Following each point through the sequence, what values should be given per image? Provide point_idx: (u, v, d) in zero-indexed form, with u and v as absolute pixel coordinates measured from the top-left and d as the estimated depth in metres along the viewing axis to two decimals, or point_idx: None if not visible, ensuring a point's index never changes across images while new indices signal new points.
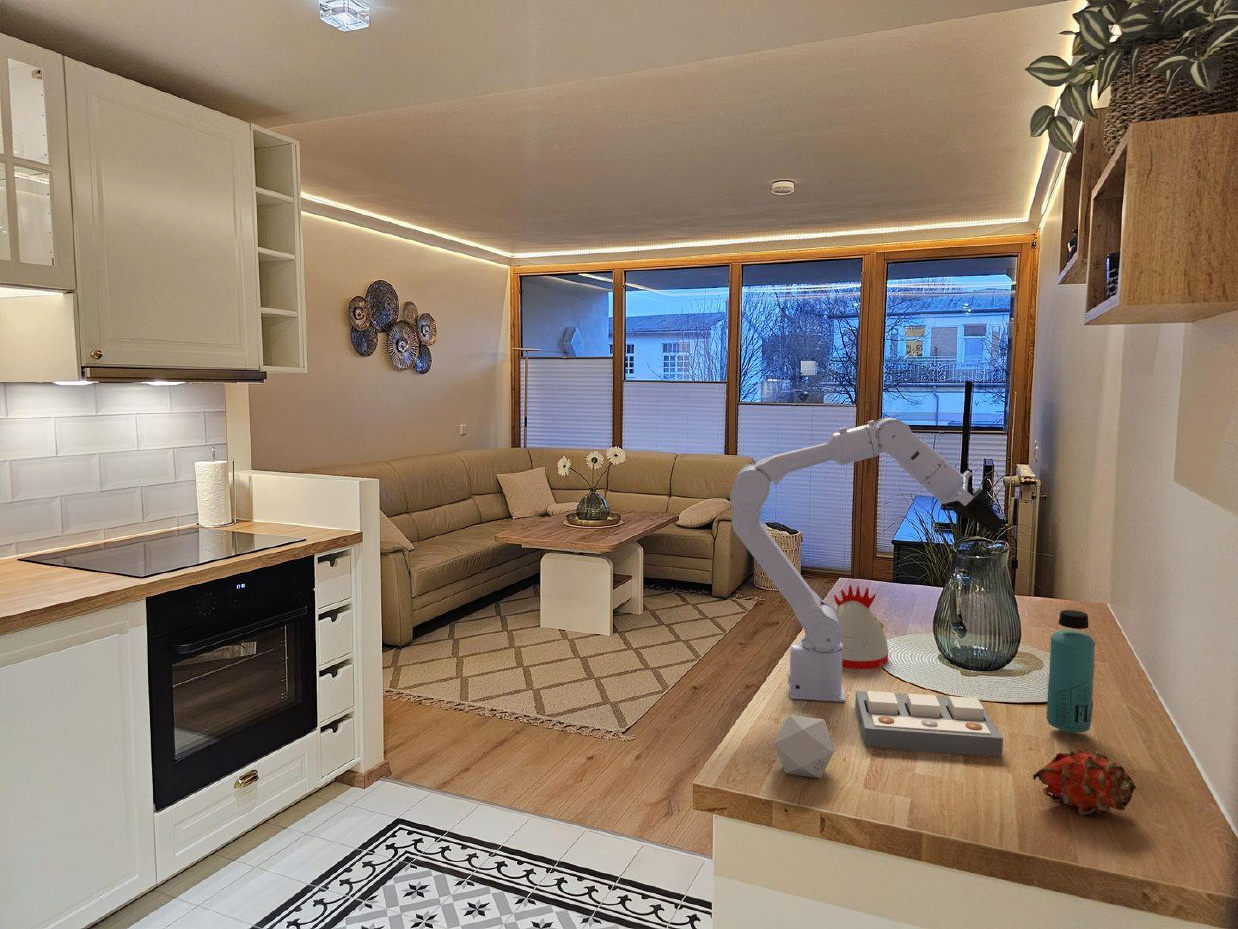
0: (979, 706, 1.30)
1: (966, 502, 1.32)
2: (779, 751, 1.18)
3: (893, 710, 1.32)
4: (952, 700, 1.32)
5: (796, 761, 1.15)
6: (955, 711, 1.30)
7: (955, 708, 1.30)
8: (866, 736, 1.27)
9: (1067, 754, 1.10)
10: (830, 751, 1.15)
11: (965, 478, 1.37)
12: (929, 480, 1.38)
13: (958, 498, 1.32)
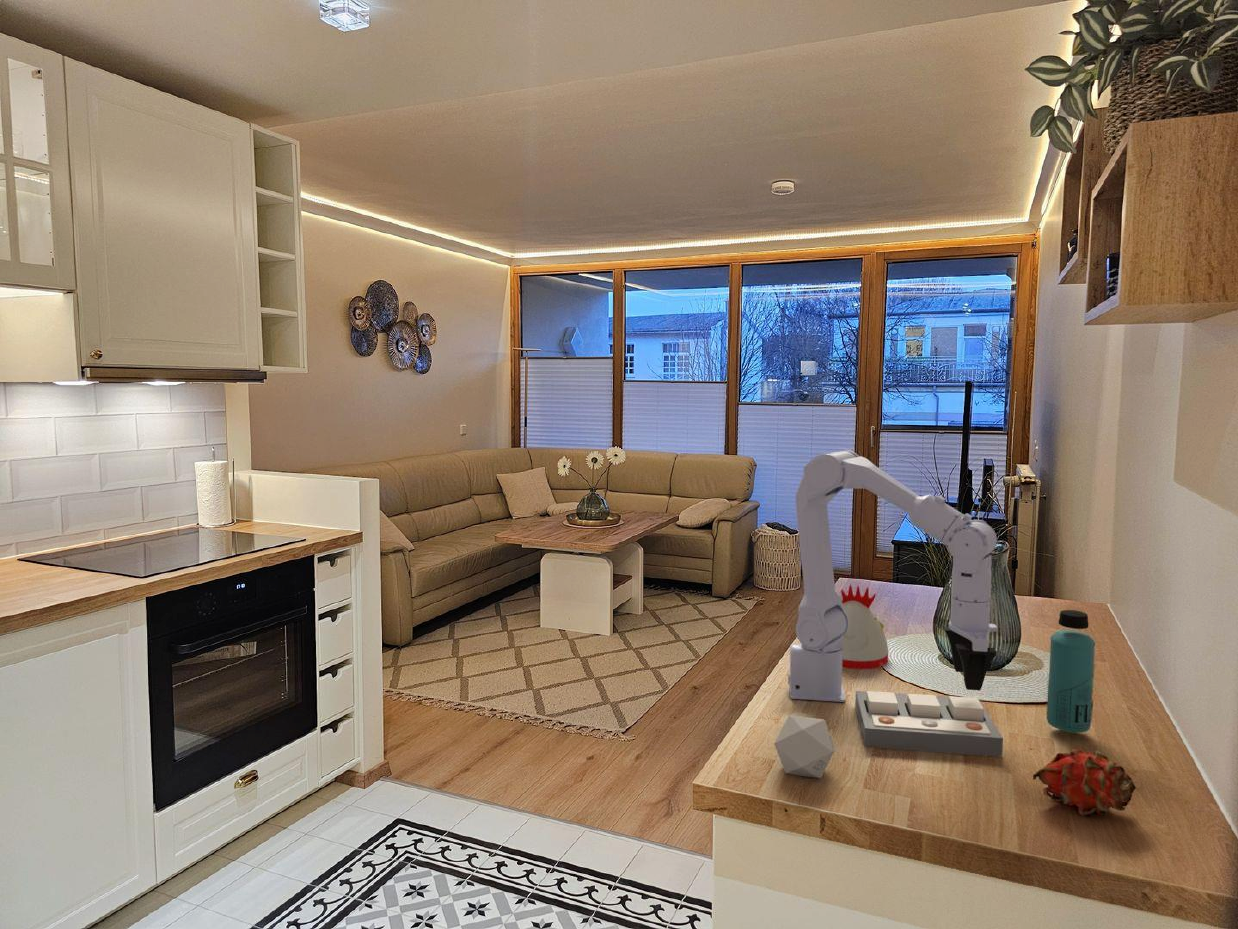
0: (979, 706, 1.30)
1: (977, 649, 1.23)
2: (779, 751, 1.18)
3: (893, 710, 1.32)
4: (952, 700, 1.32)
5: (796, 761, 1.15)
6: (955, 711, 1.30)
7: (955, 708, 1.30)
8: (866, 736, 1.27)
9: (1067, 754, 1.10)
10: (830, 751, 1.15)
11: (989, 629, 1.28)
12: (963, 604, 1.27)
13: (975, 640, 1.23)
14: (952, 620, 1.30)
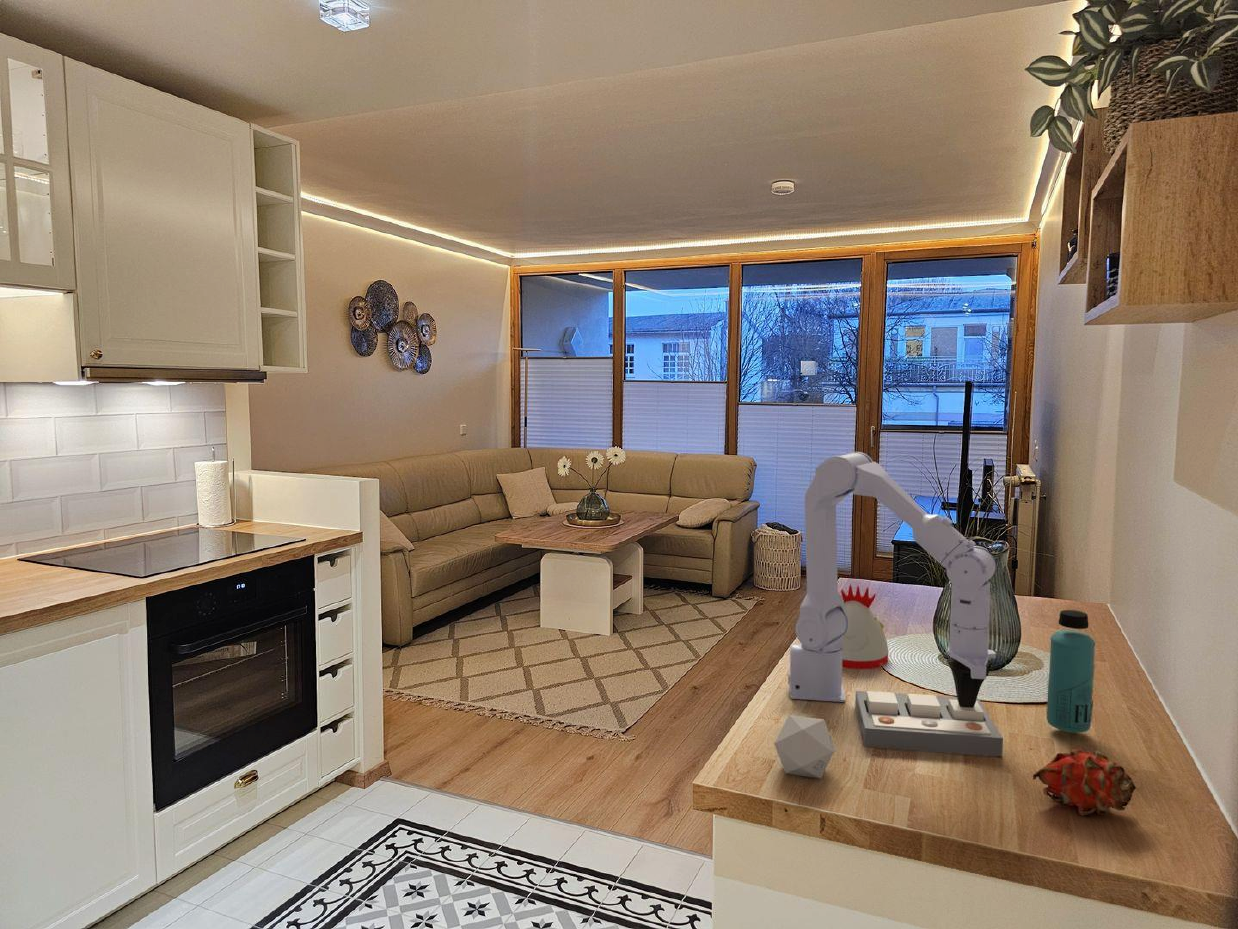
0: (979, 709, 1.30)
1: (976, 677, 1.24)
2: (779, 751, 1.18)
3: (893, 710, 1.32)
4: (952, 703, 1.32)
5: (796, 761, 1.15)
6: (955, 714, 1.30)
7: (955, 711, 1.30)
8: (866, 736, 1.27)
9: (1067, 754, 1.10)
10: (830, 751, 1.15)
11: (988, 656, 1.28)
12: (962, 630, 1.28)
13: (974, 668, 1.24)
14: (951, 646, 1.30)
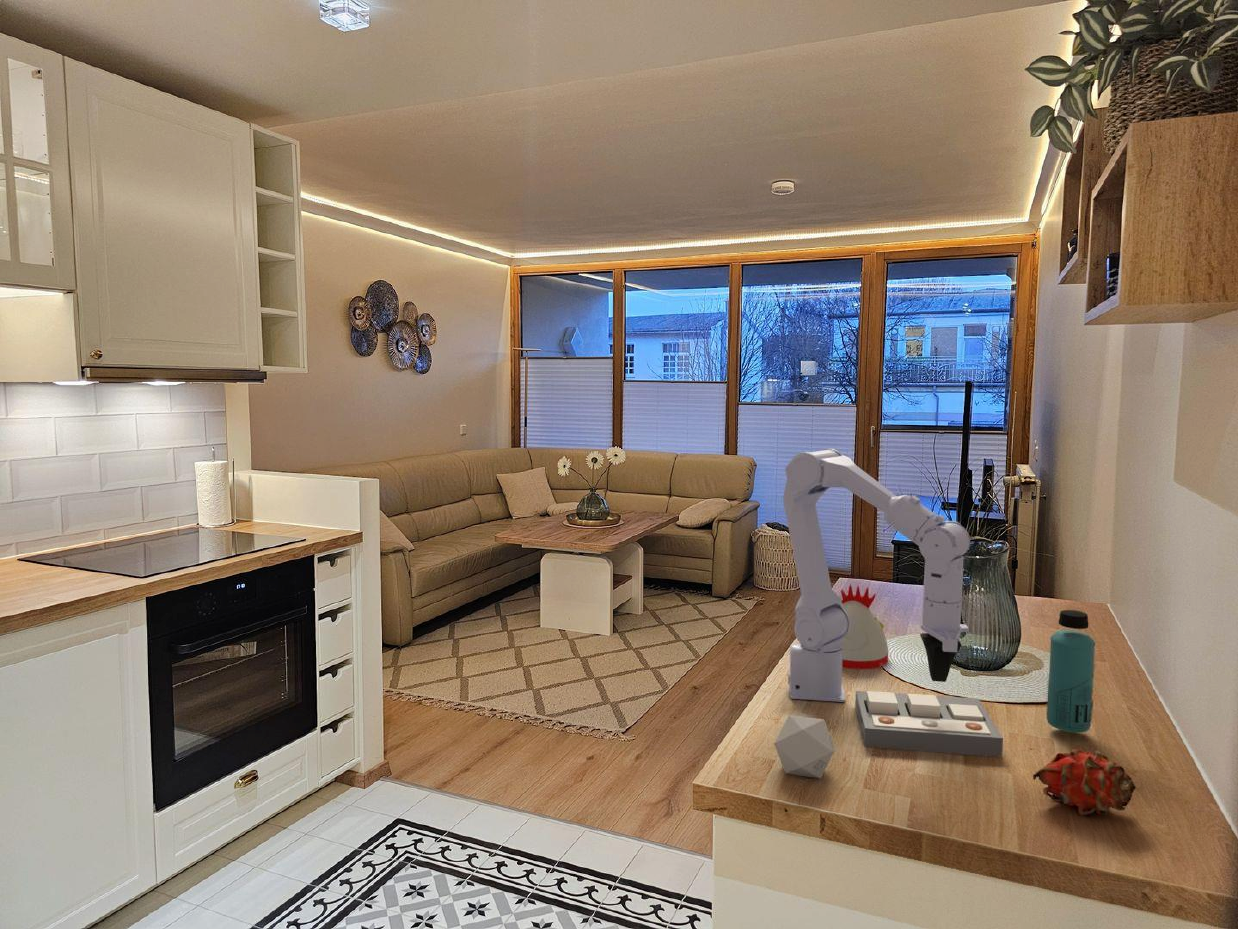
0: (979, 714, 1.30)
1: (947, 650, 1.24)
2: (779, 751, 1.18)
3: (893, 710, 1.32)
4: (952, 708, 1.32)
5: (796, 761, 1.15)
6: None
7: (955, 716, 1.30)
8: (866, 736, 1.27)
9: (1067, 754, 1.10)
10: (830, 751, 1.15)
11: (960, 630, 1.29)
12: (935, 604, 1.28)
13: (945, 641, 1.24)
14: (924, 620, 1.31)
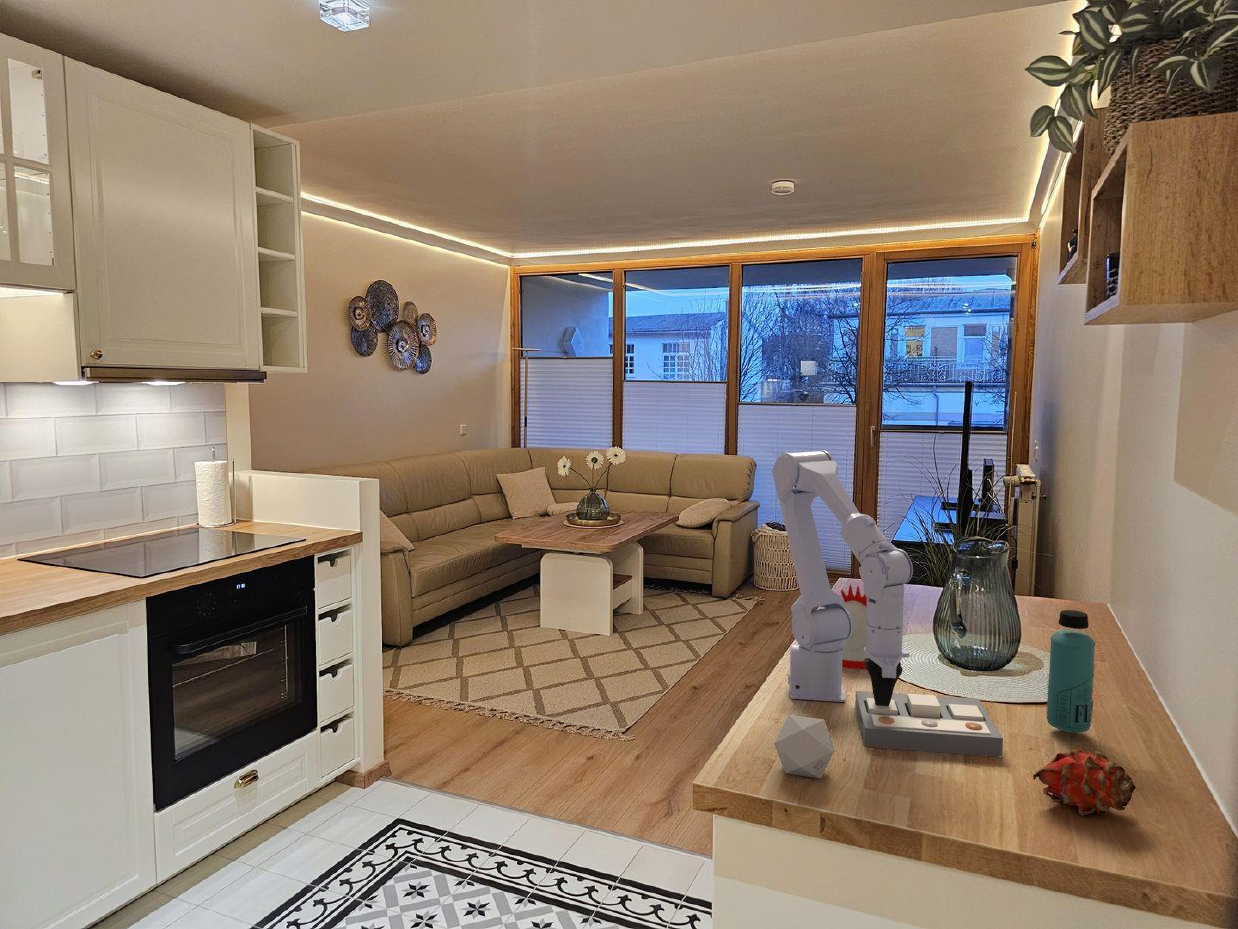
0: (979, 714, 1.30)
1: (886, 676, 1.26)
2: (779, 751, 1.18)
3: None
4: (952, 708, 1.32)
5: (796, 761, 1.15)
6: None
7: (955, 716, 1.30)
8: (866, 736, 1.27)
9: (1067, 754, 1.10)
10: (830, 751, 1.15)
11: (901, 655, 1.31)
12: (876, 630, 1.30)
13: (884, 667, 1.26)
14: (866, 646, 1.33)
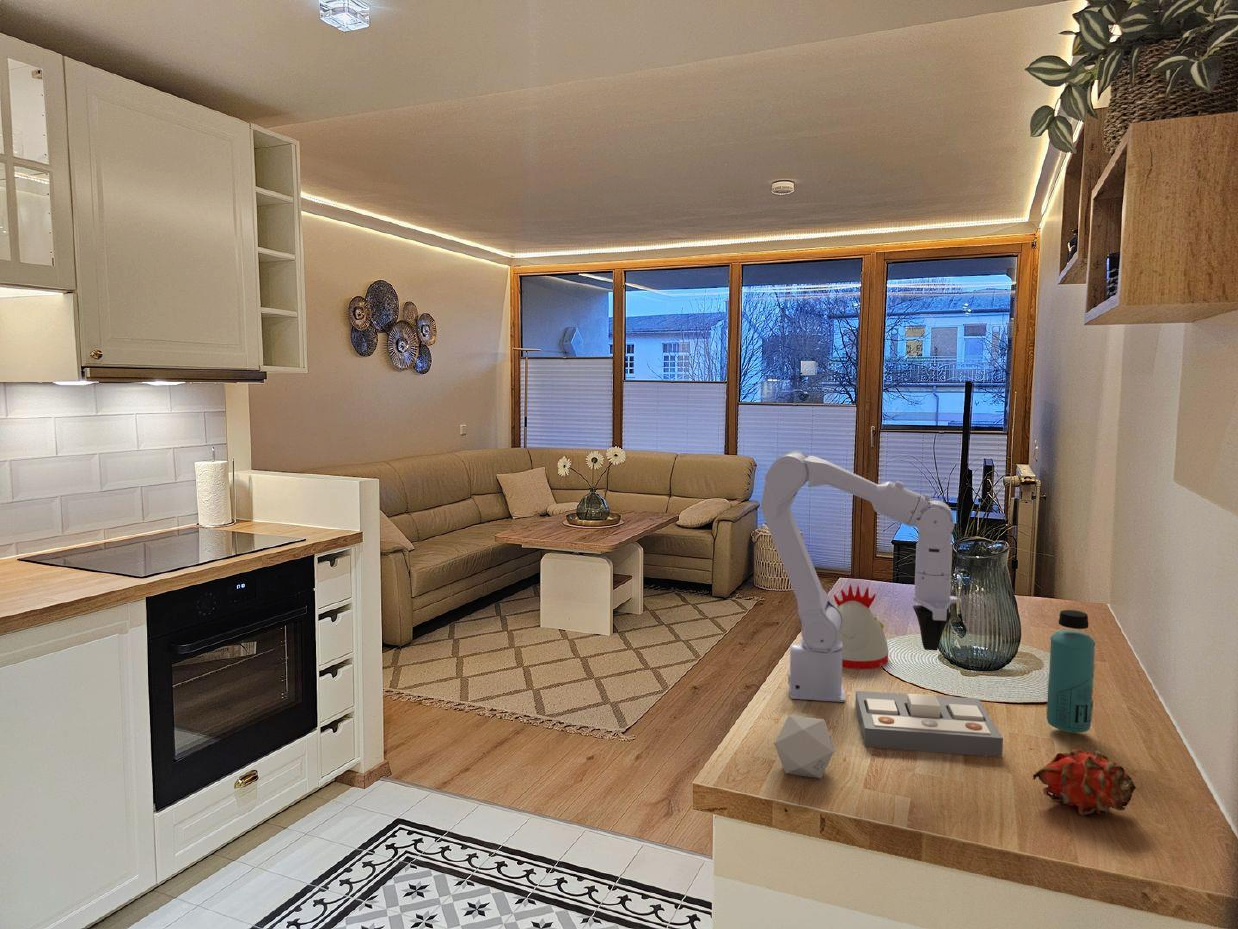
0: (979, 714, 1.30)
1: (937, 618, 1.32)
2: (779, 751, 1.18)
3: None
4: (952, 708, 1.32)
5: (796, 761, 1.15)
6: None
7: (955, 716, 1.30)
8: (866, 736, 1.27)
9: (1067, 754, 1.10)
10: (830, 751, 1.15)
11: (950, 601, 1.37)
12: (926, 577, 1.37)
13: (935, 610, 1.32)
14: (916, 592, 1.39)
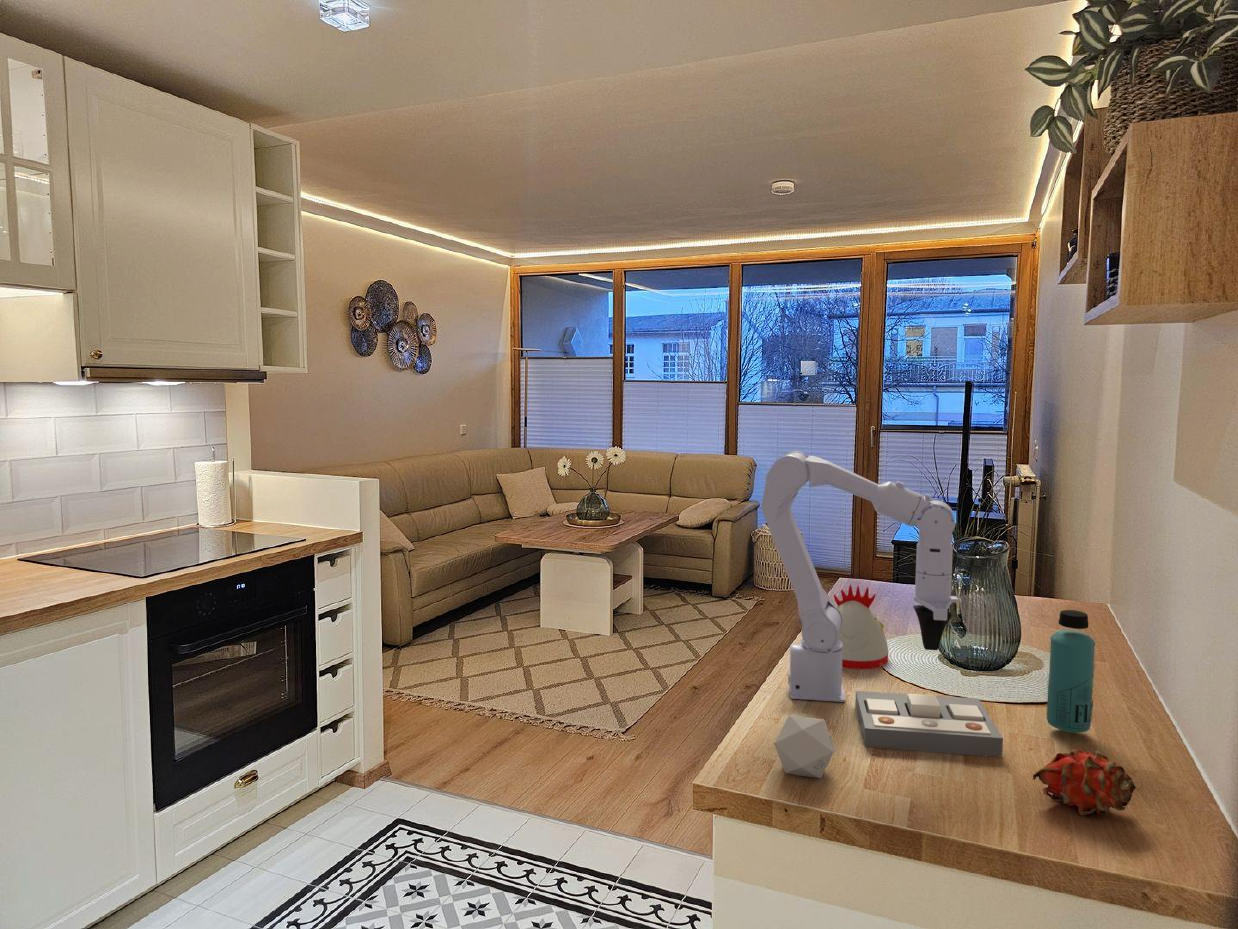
0: (979, 714, 1.30)
1: (938, 618, 1.32)
2: (779, 751, 1.18)
3: None
4: (952, 708, 1.32)
5: (796, 761, 1.15)
6: None
7: (955, 716, 1.30)
8: (866, 736, 1.27)
9: (1067, 754, 1.10)
10: (830, 751, 1.15)
11: (950, 601, 1.37)
12: (926, 577, 1.37)
13: (936, 610, 1.32)
14: (916, 592, 1.39)
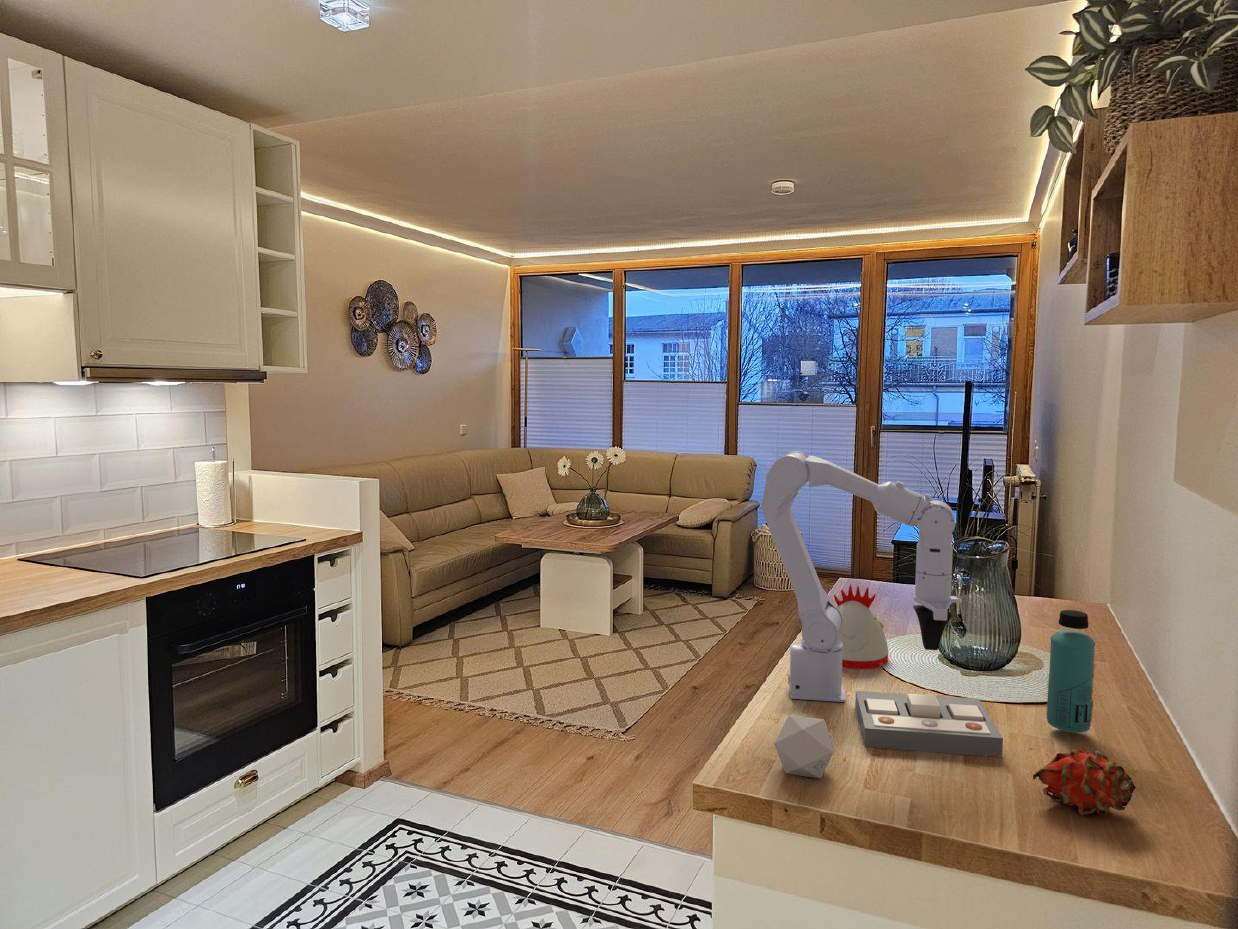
0: (979, 714, 1.30)
1: (938, 618, 1.32)
2: (779, 751, 1.18)
3: None
4: (952, 708, 1.32)
5: (796, 761, 1.15)
6: None
7: (955, 716, 1.30)
8: (866, 736, 1.27)
9: (1067, 754, 1.10)
10: (830, 751, 1.15)
11: (950, 601, 1.37)
12: (926, 577, 1.37)
13: (936, 610, 1.32)
14: (916, 592, 1.39)
